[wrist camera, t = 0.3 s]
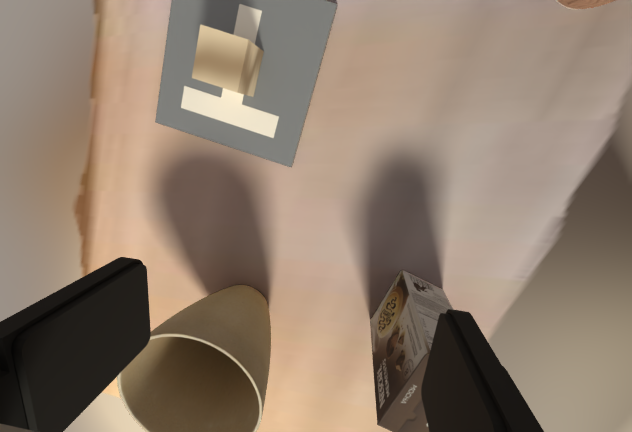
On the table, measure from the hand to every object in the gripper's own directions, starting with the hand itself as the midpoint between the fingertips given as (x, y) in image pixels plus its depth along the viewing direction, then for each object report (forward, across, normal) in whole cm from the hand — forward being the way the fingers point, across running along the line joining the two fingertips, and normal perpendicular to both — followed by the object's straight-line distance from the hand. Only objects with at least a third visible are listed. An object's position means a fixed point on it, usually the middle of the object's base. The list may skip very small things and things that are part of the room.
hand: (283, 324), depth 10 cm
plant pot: (+30, +11, +21) cm, 38 cm away
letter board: (+30, +13, -11) cm, 34 cm away
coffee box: (+30, -11, +16) cm, 36 cm away
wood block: (+29, +13, -11) cm, 34 cm away
